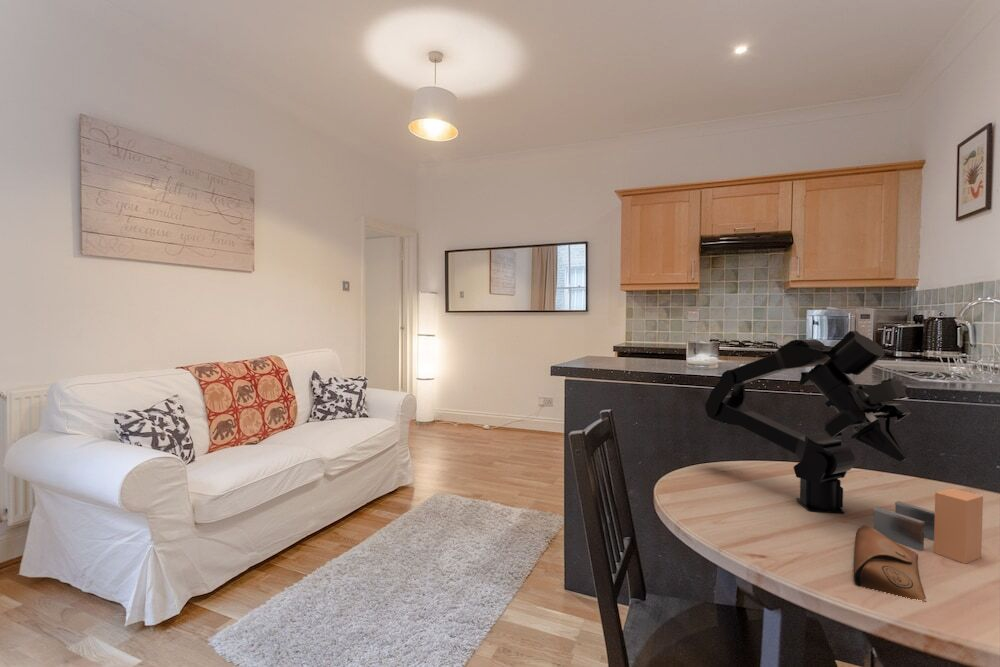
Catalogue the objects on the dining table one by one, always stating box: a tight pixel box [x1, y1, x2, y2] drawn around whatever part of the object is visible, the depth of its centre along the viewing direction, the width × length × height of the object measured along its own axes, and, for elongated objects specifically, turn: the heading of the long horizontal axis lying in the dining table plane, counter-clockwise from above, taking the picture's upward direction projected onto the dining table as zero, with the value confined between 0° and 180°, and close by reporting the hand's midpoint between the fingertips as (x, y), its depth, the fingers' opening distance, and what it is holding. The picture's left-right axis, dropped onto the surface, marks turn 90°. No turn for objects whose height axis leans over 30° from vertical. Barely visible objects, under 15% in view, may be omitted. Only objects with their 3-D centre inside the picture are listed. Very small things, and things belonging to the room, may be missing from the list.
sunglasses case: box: [853, 524, 927, 603], centre depth 75 cm, size 18×7×7 cm
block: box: [933, 487, 984, 565], centre depth 78 cm, size 4×5×10 cm
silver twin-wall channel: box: [873, 500, 935, 552], centre depth 84 cm, size 7×8×5 cm
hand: (904, 460), depth 85 cm, fingers closed
